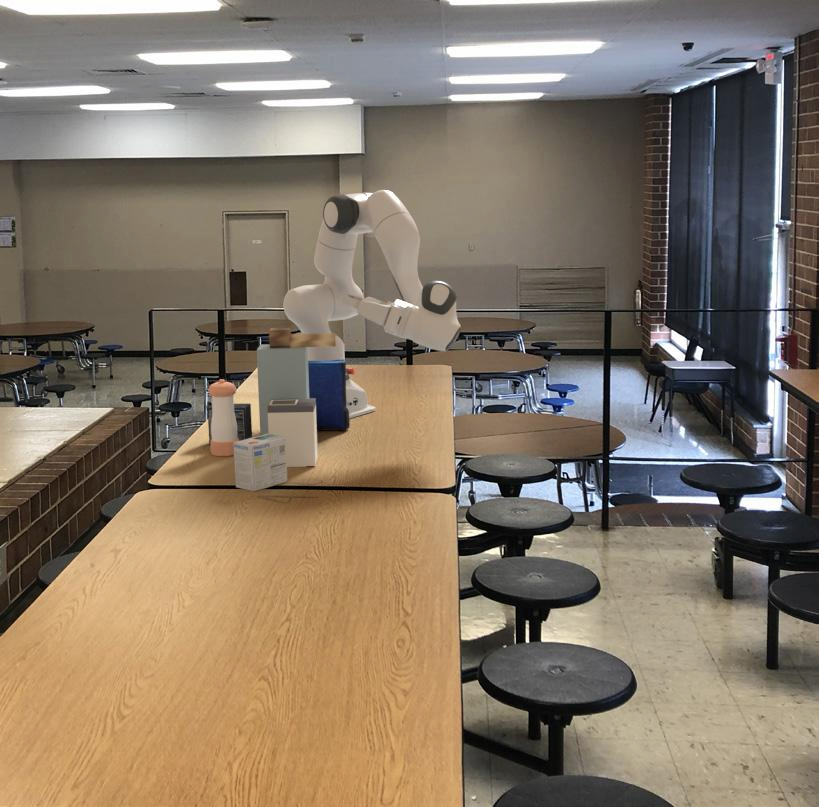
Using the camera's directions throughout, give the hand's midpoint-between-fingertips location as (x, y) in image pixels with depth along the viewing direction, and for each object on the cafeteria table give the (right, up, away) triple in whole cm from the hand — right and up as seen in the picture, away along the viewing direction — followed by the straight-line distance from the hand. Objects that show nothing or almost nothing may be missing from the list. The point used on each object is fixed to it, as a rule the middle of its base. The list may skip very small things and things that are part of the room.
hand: (344, 297), depth 280 cm
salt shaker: (-31, -39, +6) cm, 51 cm away
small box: (-31, -37, +17) cm, 52 cm away
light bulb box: (-17, -45, -25) cm, 55 cm away
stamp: (-11, -12, +3) cm, 16 cm away
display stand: (-16, -39, +8) cm, 42 cm away
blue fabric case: (-8, -34, +32) cm, 47 cm away
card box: (-12, -41, -5) cm, 43 cm away
